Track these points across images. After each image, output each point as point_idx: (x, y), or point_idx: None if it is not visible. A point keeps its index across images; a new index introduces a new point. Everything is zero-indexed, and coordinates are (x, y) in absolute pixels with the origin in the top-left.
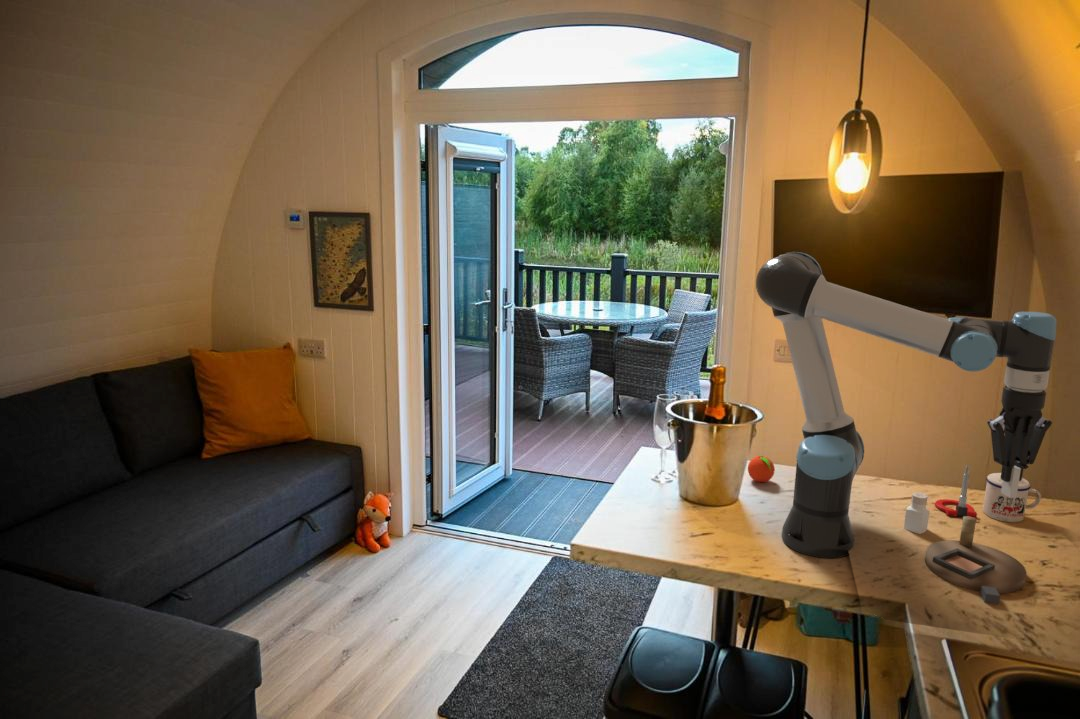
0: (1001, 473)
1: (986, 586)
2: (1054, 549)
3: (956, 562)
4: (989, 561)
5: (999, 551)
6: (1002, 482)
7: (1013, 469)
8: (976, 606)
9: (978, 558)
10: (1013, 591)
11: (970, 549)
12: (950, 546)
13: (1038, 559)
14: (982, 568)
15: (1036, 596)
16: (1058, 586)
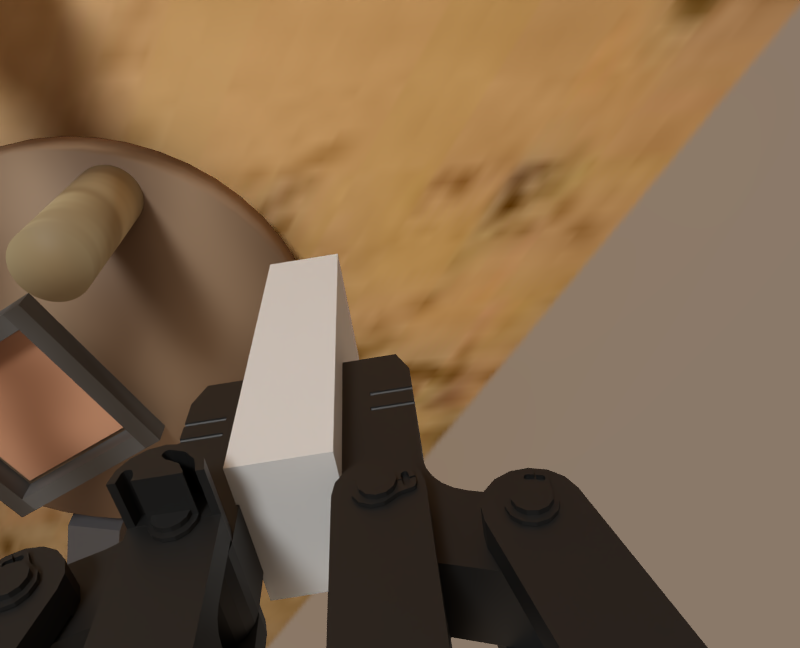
0: (181, 443)
1: (86, 527)
2: (682, 41)
3: (2, 387)
4: (172, 361)
5: (268, 265)
6: (257, 320)
7: (267, 581)
8: (64, 516)
9: (102, 393)
10: None
11: (117, 254)
12: (11, 229)
13: (515, 161)
14: (90, 469)
15: None
16: (443, 377)
